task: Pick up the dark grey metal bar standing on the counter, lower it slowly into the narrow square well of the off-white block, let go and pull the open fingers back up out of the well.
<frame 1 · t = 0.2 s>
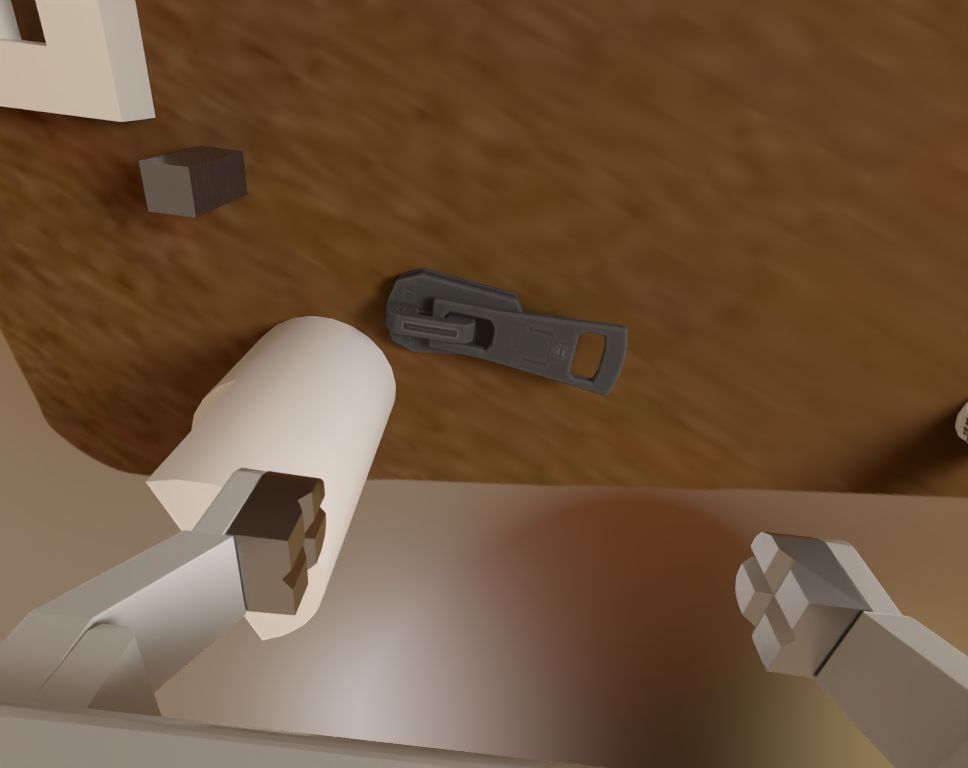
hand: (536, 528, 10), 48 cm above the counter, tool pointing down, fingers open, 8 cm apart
cylinder: (324, 382, 65), on the counter
zipper pull: (502, 319, 60), on the counter
well block: (45, 3, 47), on the counter
metal bar: (224, 170, 53), on the counter
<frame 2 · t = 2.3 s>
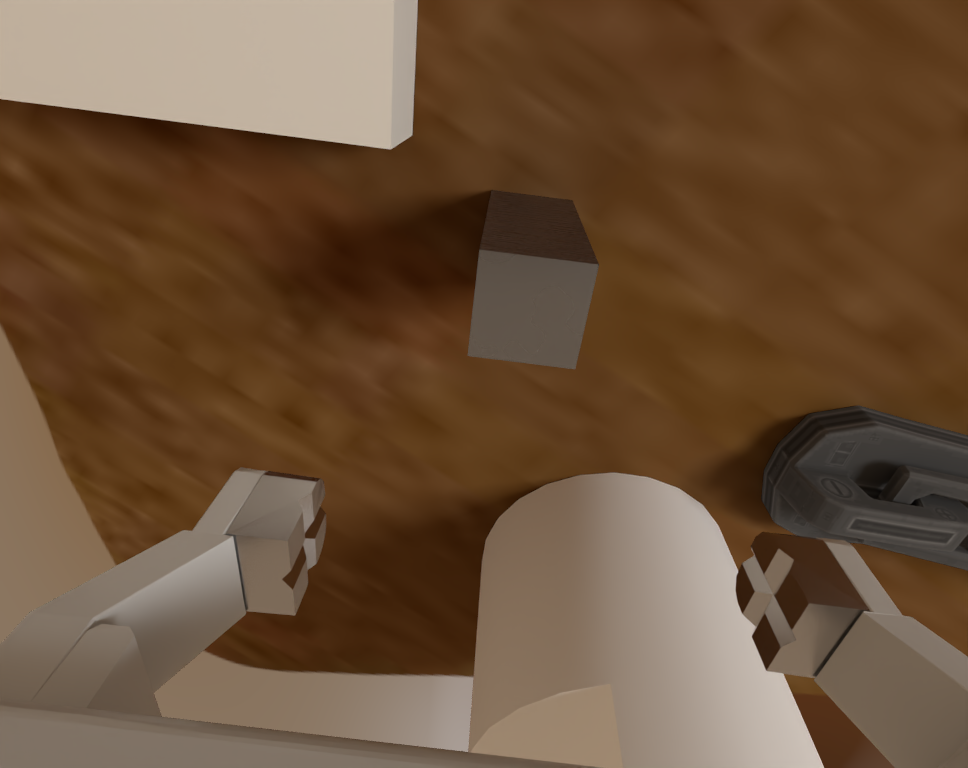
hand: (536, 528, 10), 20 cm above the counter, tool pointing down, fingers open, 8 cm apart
cylinder: (600, 563, 40), on the counter
zipper pull: (959, 483, 34), on the counter
metal bar: (525, 235, 28), on the counter
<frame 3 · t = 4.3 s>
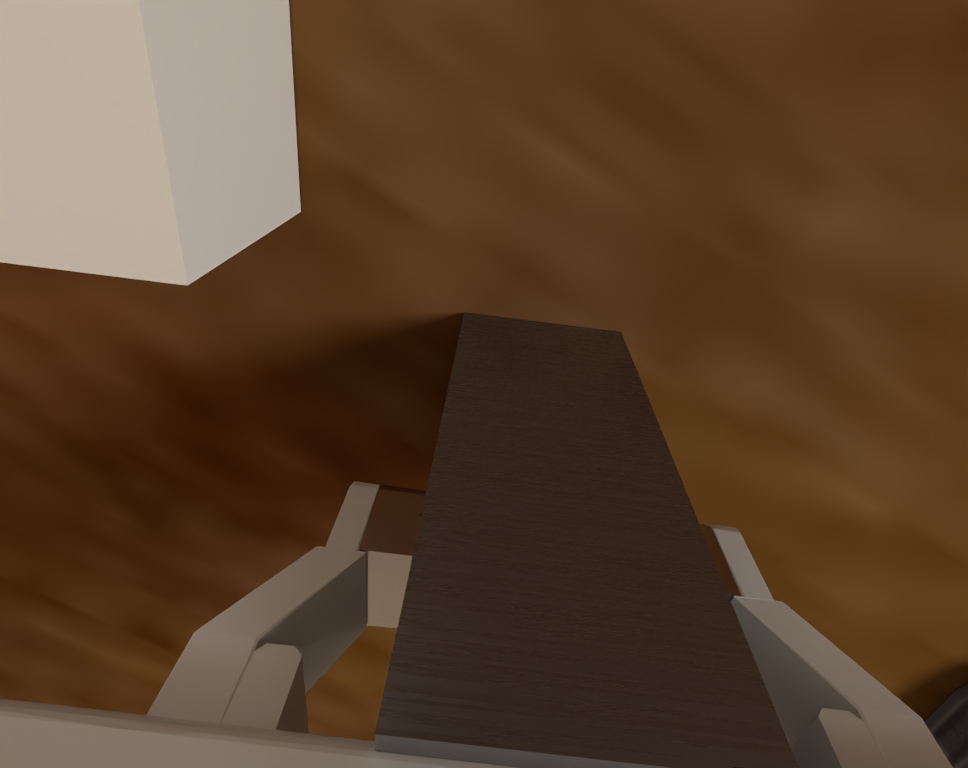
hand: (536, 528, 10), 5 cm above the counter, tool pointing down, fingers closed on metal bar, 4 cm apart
metal bar: (530, 390, 15), on the counter, touching gripper
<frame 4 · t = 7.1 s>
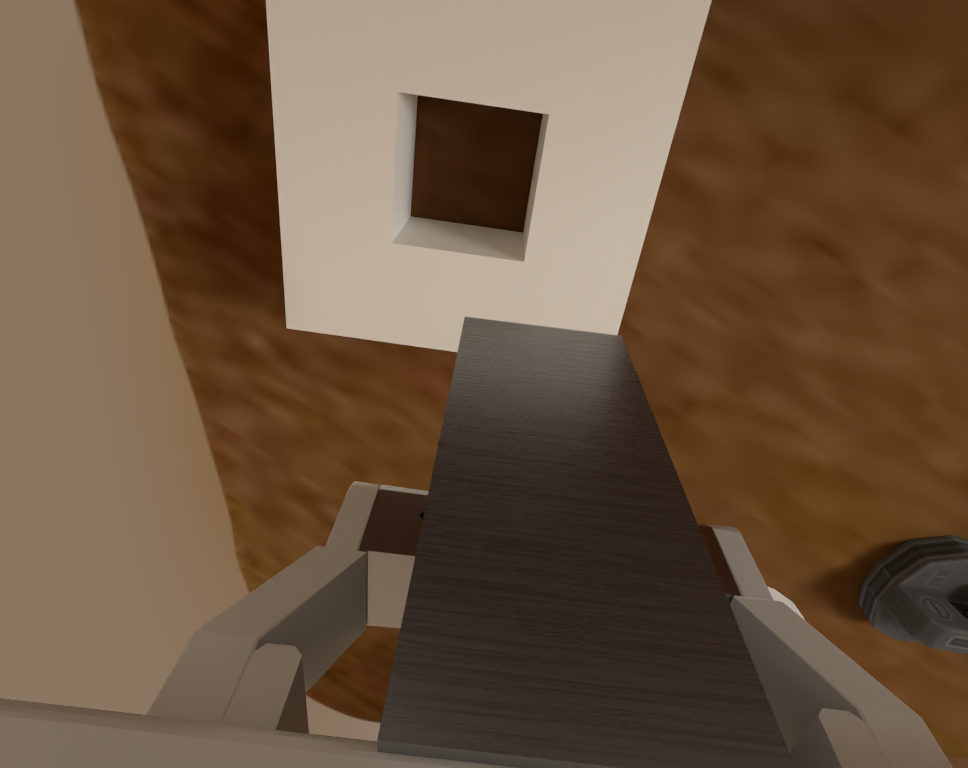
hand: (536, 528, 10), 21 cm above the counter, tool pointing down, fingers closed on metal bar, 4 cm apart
well block: (473, 164, 27), on the counter
metal bar: (531, 393, 15), point 16 cm above the counter, touching gripper
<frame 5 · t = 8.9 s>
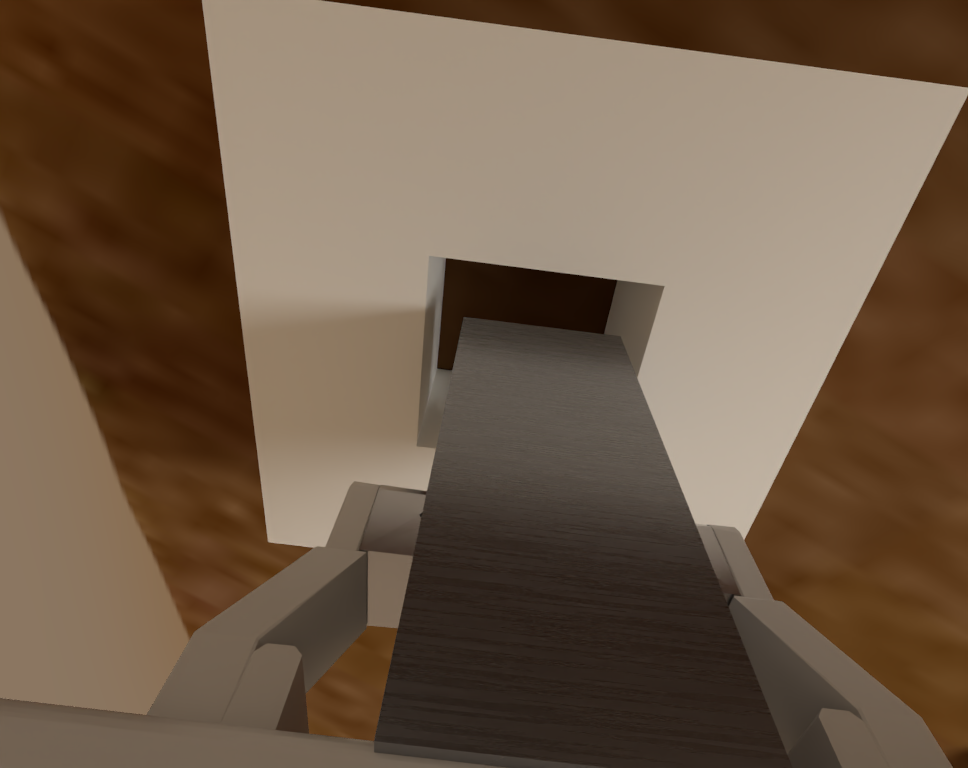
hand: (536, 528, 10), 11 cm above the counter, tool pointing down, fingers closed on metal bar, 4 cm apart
well block: (525, 306, 19), on the counter
metal bar: (530, 393, 15), point 6 cm above the counter, touching gripper
when the fingers open (7 cm above the counter, at t = 10.1 s): metal bar drops 1 cm, resting in well block.
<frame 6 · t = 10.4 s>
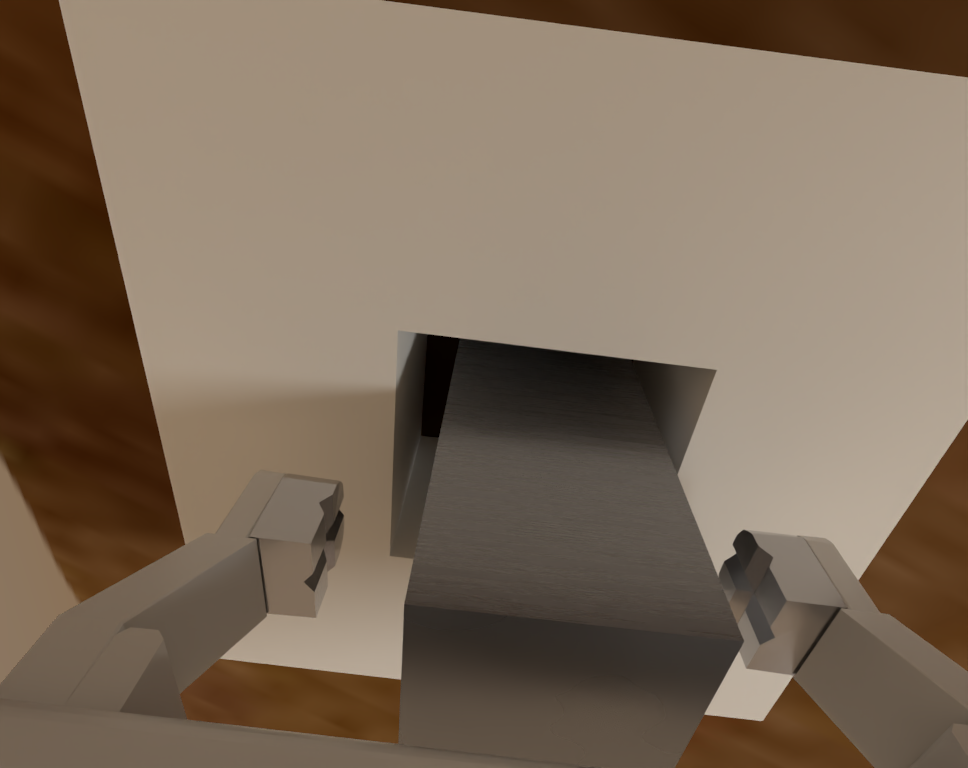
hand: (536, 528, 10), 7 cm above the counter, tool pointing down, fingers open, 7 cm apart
well block: (527, 365, 16), on the counter
metal bar: (530, 367, 16), resting in well block
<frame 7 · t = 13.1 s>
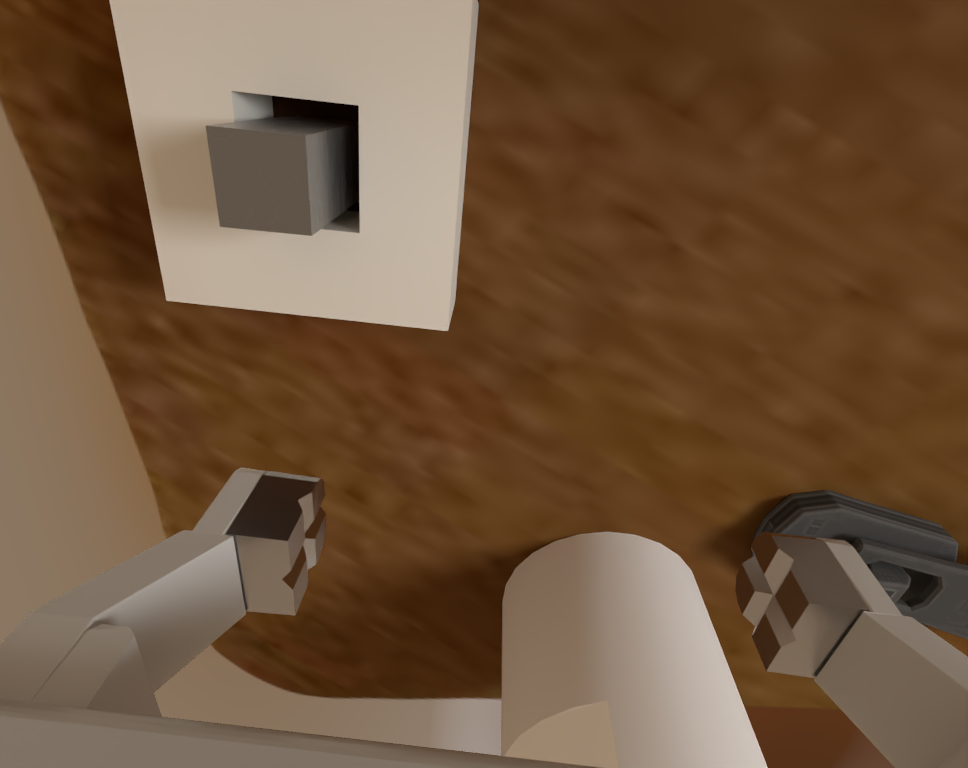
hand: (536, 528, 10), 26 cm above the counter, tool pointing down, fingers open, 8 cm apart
cylinder: (598, 601, 49), on the counter
zipper pull: (901, 548, 45), on the counter
well block: (328, 155, 31), on the counter
metal bar: (329, 156, 31), resting in well block
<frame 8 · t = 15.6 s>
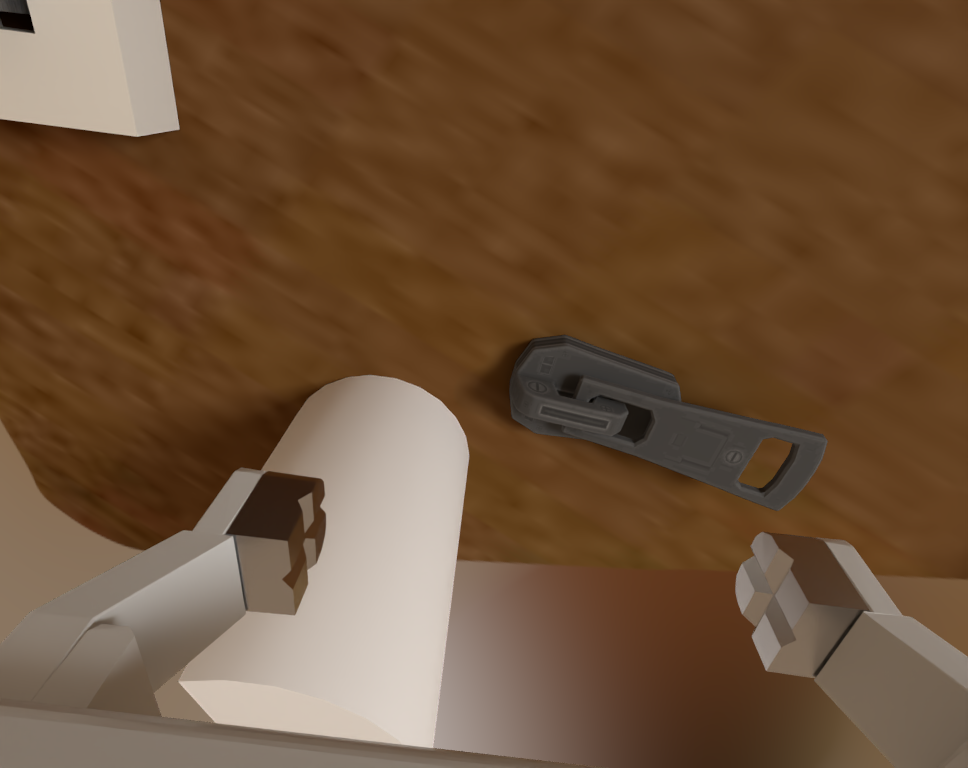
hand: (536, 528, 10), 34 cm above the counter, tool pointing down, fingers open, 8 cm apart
cylinder: (381, 451, 53), on the counter
zipper pull: (647, 401, 49), on the counter
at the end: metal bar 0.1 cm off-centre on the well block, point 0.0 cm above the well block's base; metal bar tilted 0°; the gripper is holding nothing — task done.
